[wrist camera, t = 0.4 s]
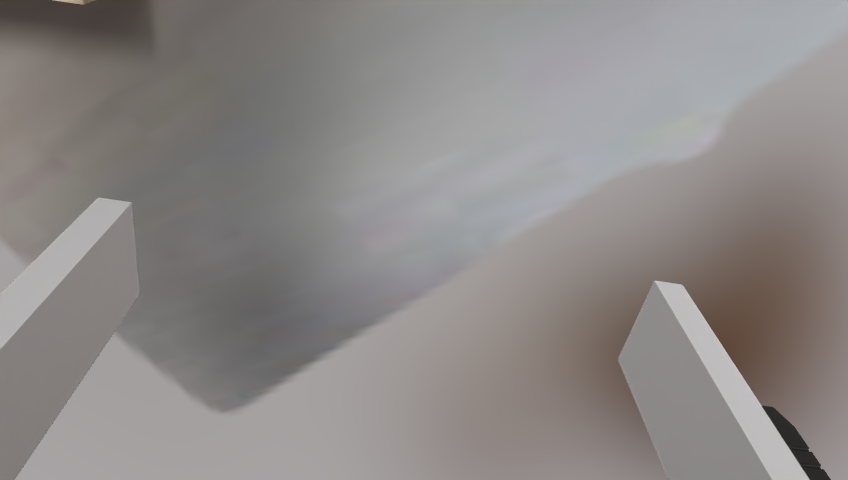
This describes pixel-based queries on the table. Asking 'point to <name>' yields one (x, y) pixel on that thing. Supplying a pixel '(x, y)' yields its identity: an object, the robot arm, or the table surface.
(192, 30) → the table surface
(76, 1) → the stand
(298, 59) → the table surface
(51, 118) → the table surface
